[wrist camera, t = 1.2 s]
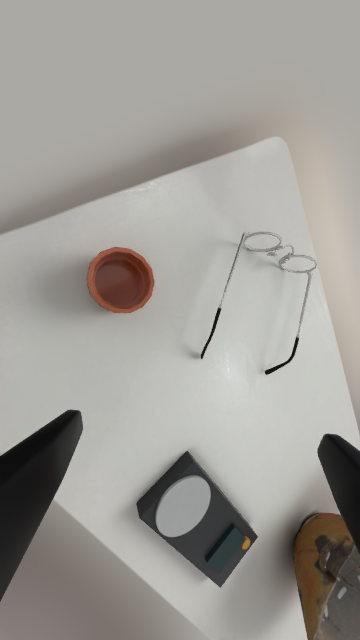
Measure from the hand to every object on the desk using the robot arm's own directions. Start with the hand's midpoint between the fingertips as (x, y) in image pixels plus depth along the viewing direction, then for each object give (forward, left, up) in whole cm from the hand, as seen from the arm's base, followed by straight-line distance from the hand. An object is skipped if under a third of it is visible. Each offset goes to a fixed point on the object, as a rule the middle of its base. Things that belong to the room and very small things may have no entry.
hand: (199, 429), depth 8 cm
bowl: (+28, -53, -18) cm, 62 cm away
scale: (+5, -30, -18) cm, 36 cm away
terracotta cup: (+1, +6, -18) cm, 19 cm away
